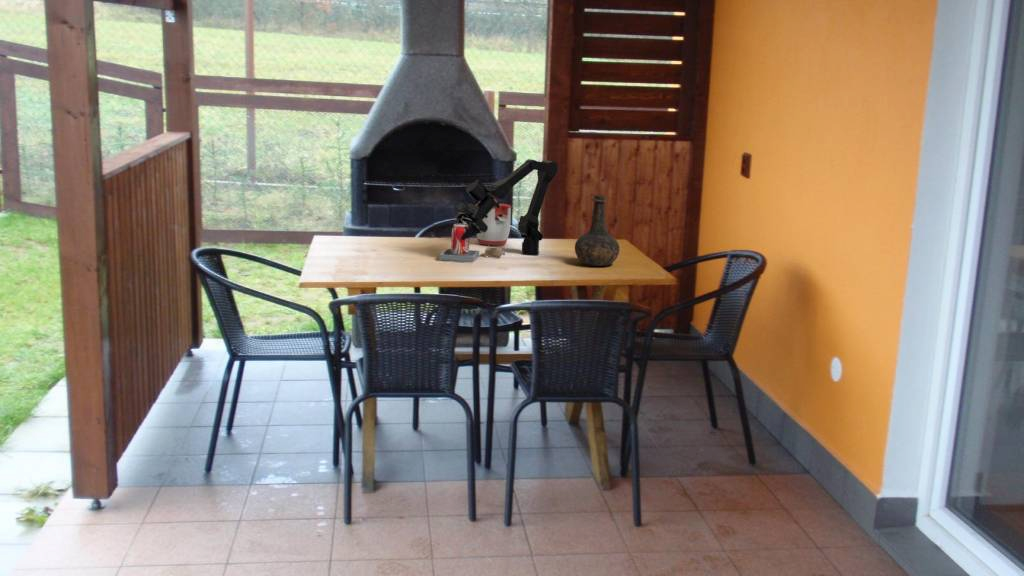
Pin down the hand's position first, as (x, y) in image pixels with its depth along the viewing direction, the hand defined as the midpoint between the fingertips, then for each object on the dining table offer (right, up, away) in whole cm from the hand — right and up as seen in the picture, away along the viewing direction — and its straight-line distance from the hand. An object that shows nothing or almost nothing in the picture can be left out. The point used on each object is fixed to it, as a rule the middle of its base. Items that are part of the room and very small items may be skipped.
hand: (457, 238), depth 396 cm
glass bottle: (+55, -11, +2) cm, 56 cm away
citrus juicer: (+13, -1, +37) cm, 40 cm away
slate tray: (+1, -8, +2) cm, 9 cm away
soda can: (+1, -7, +2) cm, 7 cm away
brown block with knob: (+14, -7, +12) cm, 20 cm away
